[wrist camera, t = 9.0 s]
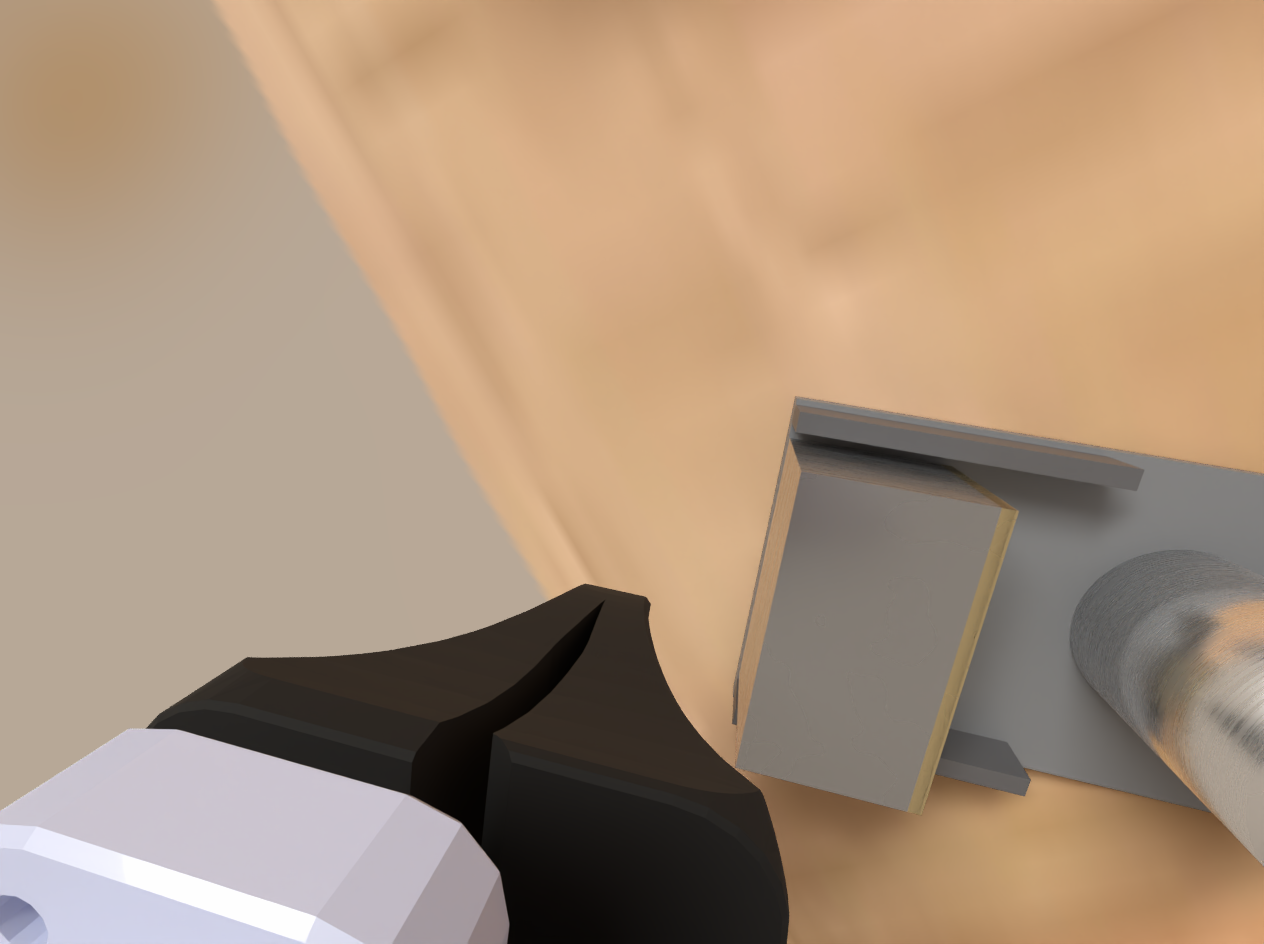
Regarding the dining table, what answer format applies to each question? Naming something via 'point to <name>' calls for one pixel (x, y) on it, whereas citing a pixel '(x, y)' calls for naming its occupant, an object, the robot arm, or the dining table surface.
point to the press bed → (1053, 584)
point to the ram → (866, 621)
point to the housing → (1185, 672)
